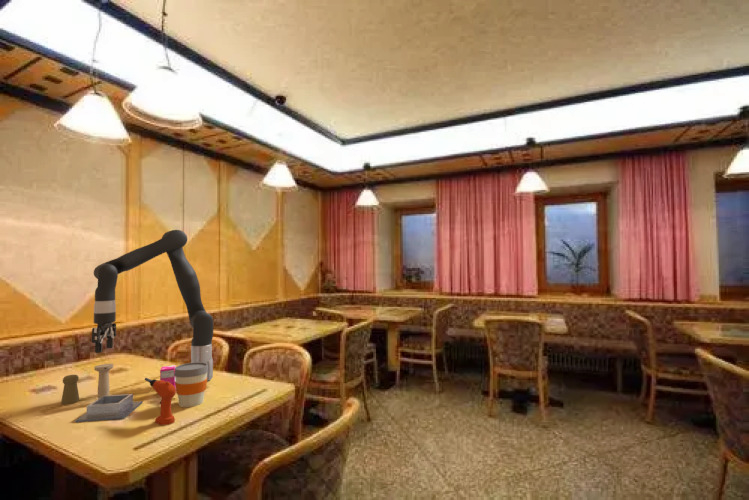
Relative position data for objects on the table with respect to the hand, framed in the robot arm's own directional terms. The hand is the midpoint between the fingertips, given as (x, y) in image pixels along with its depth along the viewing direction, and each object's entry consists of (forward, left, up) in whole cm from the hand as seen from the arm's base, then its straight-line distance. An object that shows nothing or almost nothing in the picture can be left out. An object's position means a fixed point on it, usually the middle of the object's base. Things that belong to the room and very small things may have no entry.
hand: (104, 350), depth 157 cm
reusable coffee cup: (-37, +9, -22) cm, 44 cm away
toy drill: (-30, +24, -22) cm, 44 cm away
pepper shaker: (+14, -3, -22) cm, 26 cm away
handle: (0, 0, -22) cm, 22 cm away
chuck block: (-9, +13, -21) cm, 27 cm away
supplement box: (-23, -6, -22) cm, 32 cm away
